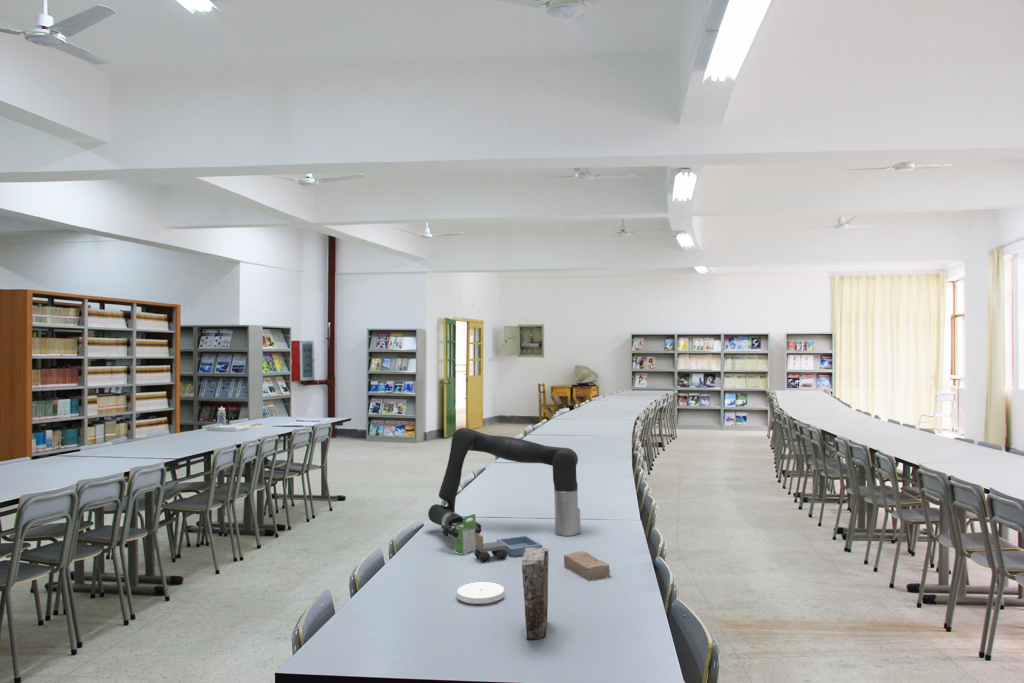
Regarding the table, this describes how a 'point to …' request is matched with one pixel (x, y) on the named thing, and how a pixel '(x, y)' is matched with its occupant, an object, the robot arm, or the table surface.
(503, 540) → the tray
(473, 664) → the table surface
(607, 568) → the brick
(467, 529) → the ink box
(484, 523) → the table surface
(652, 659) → the table surface
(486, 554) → the trolley
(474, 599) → the plastic lid
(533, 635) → the stone block
